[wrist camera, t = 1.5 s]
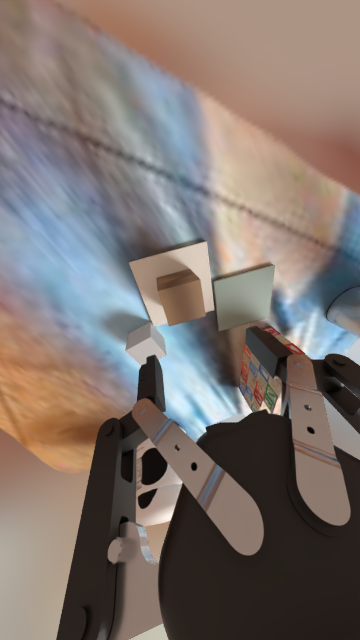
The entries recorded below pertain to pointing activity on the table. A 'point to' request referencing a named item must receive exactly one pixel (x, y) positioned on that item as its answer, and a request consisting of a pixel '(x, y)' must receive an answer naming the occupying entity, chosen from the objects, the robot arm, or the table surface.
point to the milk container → (154, 486)
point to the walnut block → (181, 296)
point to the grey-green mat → (243, 297)
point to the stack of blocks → (263, 379)
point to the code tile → (168, 264)
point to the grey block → (145, 343)
